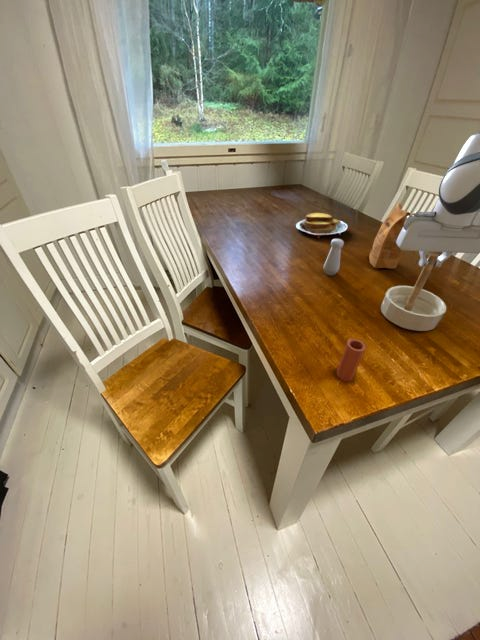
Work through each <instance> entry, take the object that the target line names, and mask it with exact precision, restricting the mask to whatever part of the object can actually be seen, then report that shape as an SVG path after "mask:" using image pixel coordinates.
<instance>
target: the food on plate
mask: <svg viewBox="0 0 480 640" xmlns="http://www.w3.org/2000/svg"><path fill="white" fill-rule="evenodd" d="M348 226H349V225H348V224H347V223H345V222H344V221H342V220H339V219H336V218H333V216H332V215H331V214H328V213H324V212H311V213H308V214H306V215H305V219H302V220H300V221H298V222H296V224H295V228H296V229H297V230H300V231H301V232H305V233H307V234H309V235H313V236H317V239H320V237H321V236H330V235H336V234H339V236H341V233H344V232H346V231H348V229H349V227H348ZM301 235H303V233H301Z"/></svg>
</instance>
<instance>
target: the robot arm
mask: <svg viewBox="0 0 480 640" xmlns="http://www.w3.org/2000/svg"><path fill="white" fill-rule="evenodd" d="M396 244H397V245H398V247H399V248H400V249H401V250H403V251H411V252H413V251H414V252H418V253H419V257H420V259H419V261H418V265H419V266H420V267H427V265H428V263H429V260H428V257H427V256H429V254H430V253H442V254H440V255H438V258H437V260H436V262H435V264H434V266H433V268H441V267H442V265H443V263H444V262H445V261H447V260H448V259H449V258H451V257H452V255H453V254H454V253H455V254H478V255H479V254H480V131H479V132H476V133H474V134H471V135H470V136H469V137H468V139H467V140H466V141H465V143H464V144H463V146H462V147H461V149H460V151H459V153H458V155H457V156H456V158H455V160H454V162H453V164H452V165H451V167H450V168H449V169H447V171H446V173H444V175H443V177H442V179H441V181H440V183H439V187H438V199H437V201H436V203H435V205H434V207H433V210H432V211H414V212H413V213H410V215H409V216H408V217H407V218H406V220H405V223H404V227H403V228H402V230H401V232H400V234H399V236H398V238H397V241H396Z"/></svg>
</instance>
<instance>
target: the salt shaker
mask: <svg viewBox="0 0 480 640" xmlns="http://www.w3.org/2000/svg"><path fill="white" fill-rule="evenodd" d="M344 243H345V242H344V240H343V239H341V238H333V239H331V241H330V246H331V248H330V250H329V252H328V255H327V257H326V259H325V262H324V263H323V271H324V274H326V275H327V276H335V275H336V274H337V273H338V272H339V270H340V267H341V253H342V248H343V247H344Z"/></svg>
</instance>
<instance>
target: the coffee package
mask: <svg viewBox="0 0 480 640" xmlns="http://www.w3.org/2000/svg"><path fill="white" fill-rule="evenodd" d="M402 208H403V205H402V204H401V203H397V204H396V206H395V207H394V208H393V209H392V210H391V212H390V213H389V214H388V216H386V218H385V219H384V220H383V222H382V224H381V226H380V227H379V230H378V231H377V234H376V236H375V238H374V240H373V243H372V248H371V250H370V252H369V256H368V258H369V264H370V265H371V266H372V267H373V268H374V269H390V270H391V269H392V270H393V269H396V268H397V266H398V263H399V262H400V260H401V258H402V256H403V252H404V250H401V249H400V248H399V247H398V245H397V244H396V241H397V238H398V236H399V234H400V232H401V230H402V228H403V227H404V223H405V220H406V218H407V217H408V216H409V215H411V212H409V211H408V210H404V209H402Z"/></svg>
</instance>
